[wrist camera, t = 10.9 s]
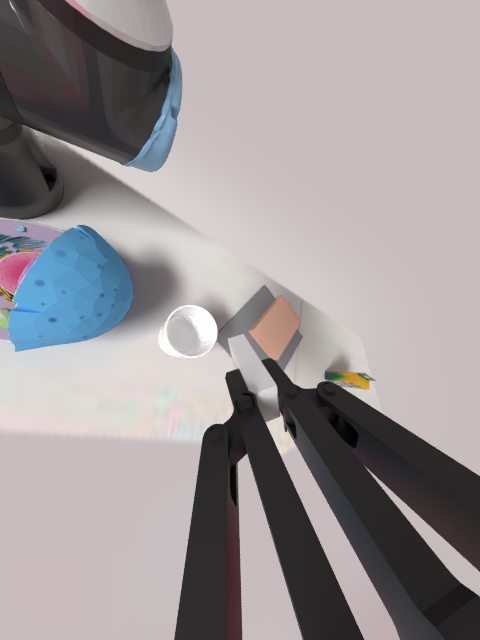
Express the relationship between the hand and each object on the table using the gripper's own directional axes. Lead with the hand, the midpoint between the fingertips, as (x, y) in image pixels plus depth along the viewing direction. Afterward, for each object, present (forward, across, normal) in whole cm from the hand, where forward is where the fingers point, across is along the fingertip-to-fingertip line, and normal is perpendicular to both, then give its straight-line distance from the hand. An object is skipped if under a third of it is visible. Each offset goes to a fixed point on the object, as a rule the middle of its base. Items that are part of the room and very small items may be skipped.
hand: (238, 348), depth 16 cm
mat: (+24, +11, -16) cm, 31 cm away
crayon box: (+23, +32, -39) cm, 55 cm away
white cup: (+19, -9, -6) cm, 22 cm away
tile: (+21, +9, -16) cm, 28 cm away
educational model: (+18, -22, +6) cm, 29 cm away
